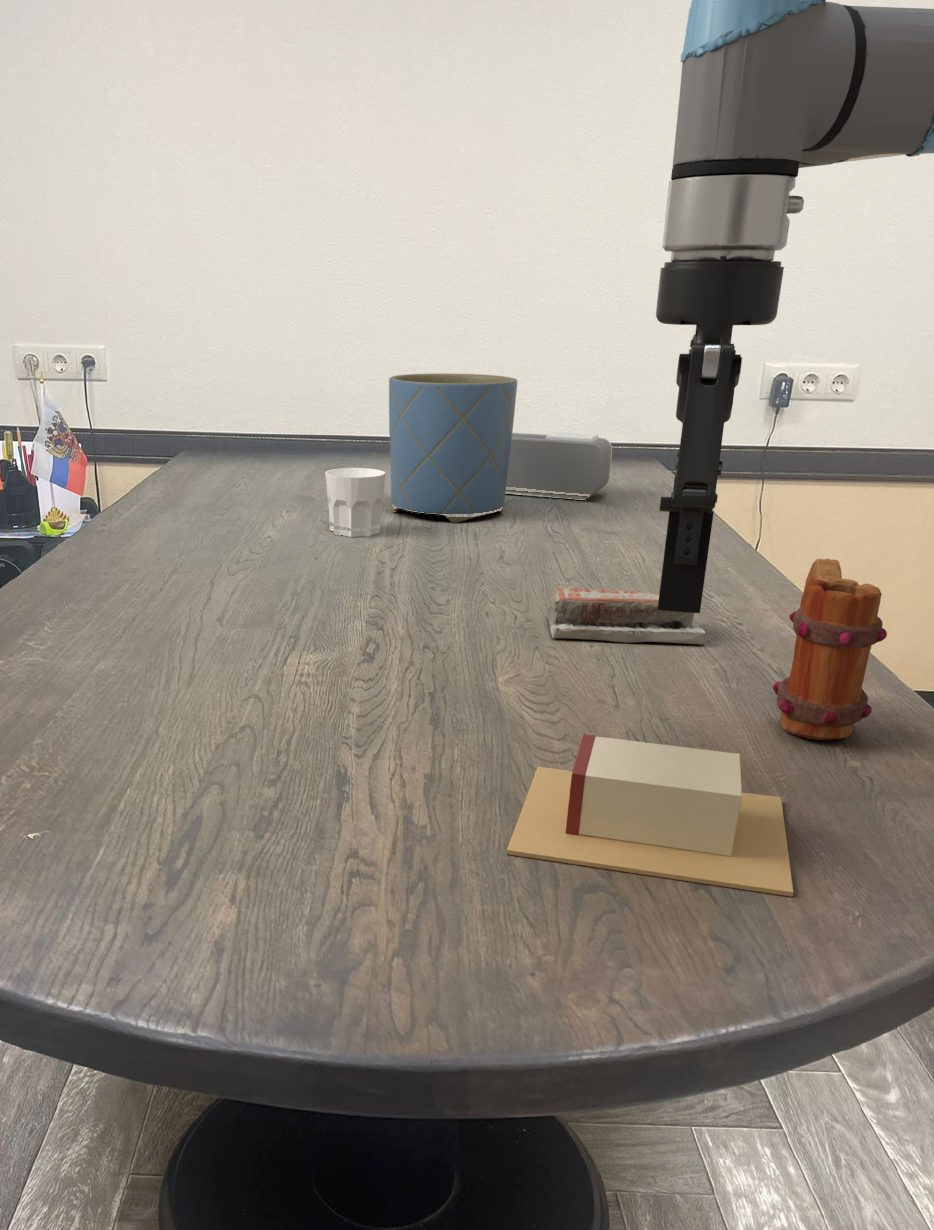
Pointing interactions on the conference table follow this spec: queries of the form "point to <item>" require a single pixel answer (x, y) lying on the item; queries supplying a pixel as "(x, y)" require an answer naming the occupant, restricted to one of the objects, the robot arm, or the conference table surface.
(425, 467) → the planter
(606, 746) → the red-capped cream block
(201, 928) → the conference table surface
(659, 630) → the grey boxy piece
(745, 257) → the robot arm
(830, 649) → the mug
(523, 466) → the grey rounded block
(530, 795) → the cork mat
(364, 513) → the cup
